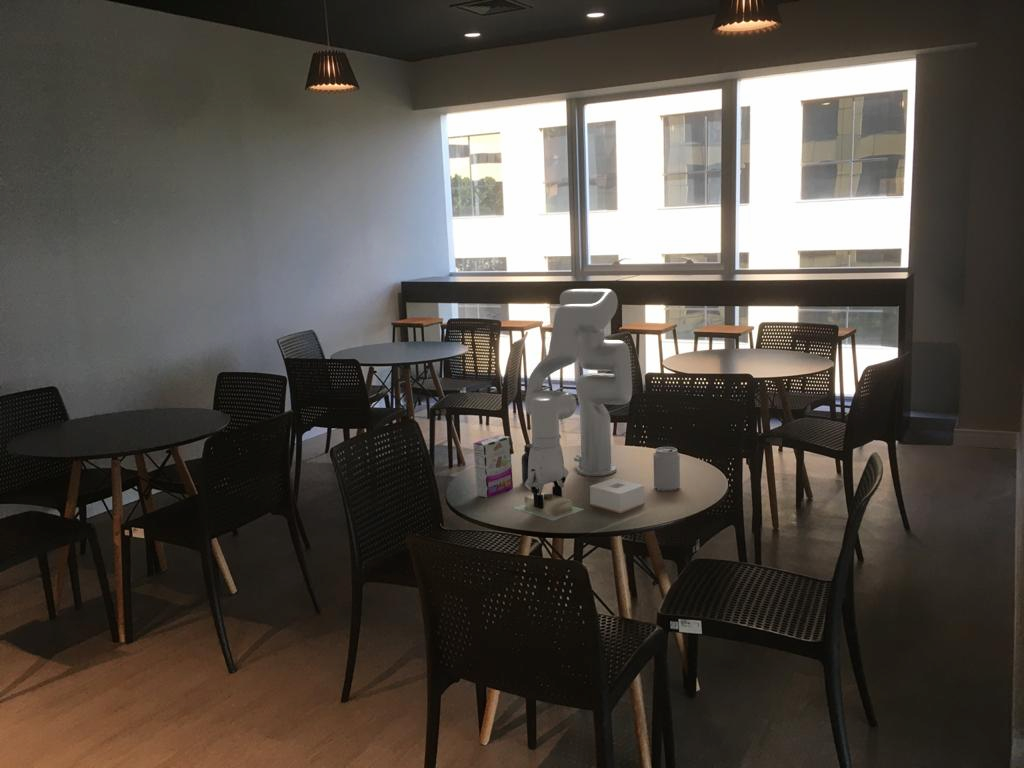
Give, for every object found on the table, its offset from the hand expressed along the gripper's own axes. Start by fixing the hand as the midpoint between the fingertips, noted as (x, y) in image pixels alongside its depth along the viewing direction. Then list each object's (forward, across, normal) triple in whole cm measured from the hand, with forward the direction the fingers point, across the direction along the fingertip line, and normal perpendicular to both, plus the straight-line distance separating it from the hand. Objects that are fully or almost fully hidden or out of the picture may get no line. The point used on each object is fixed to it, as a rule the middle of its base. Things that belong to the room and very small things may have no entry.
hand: (548, 504), depth 232 cm
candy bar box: (+2, -1, -24) cm, 24 cm away
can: (+2, -37, +12) cm, 39 cm away
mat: (+2, 0, 0) cm, 2 cm away
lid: (+1, 0, 0) cm, 1 cm away
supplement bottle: (+2, -15, -22) cm, 27 cm away
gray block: (+2, -15, +12) cm, 19 cm away
